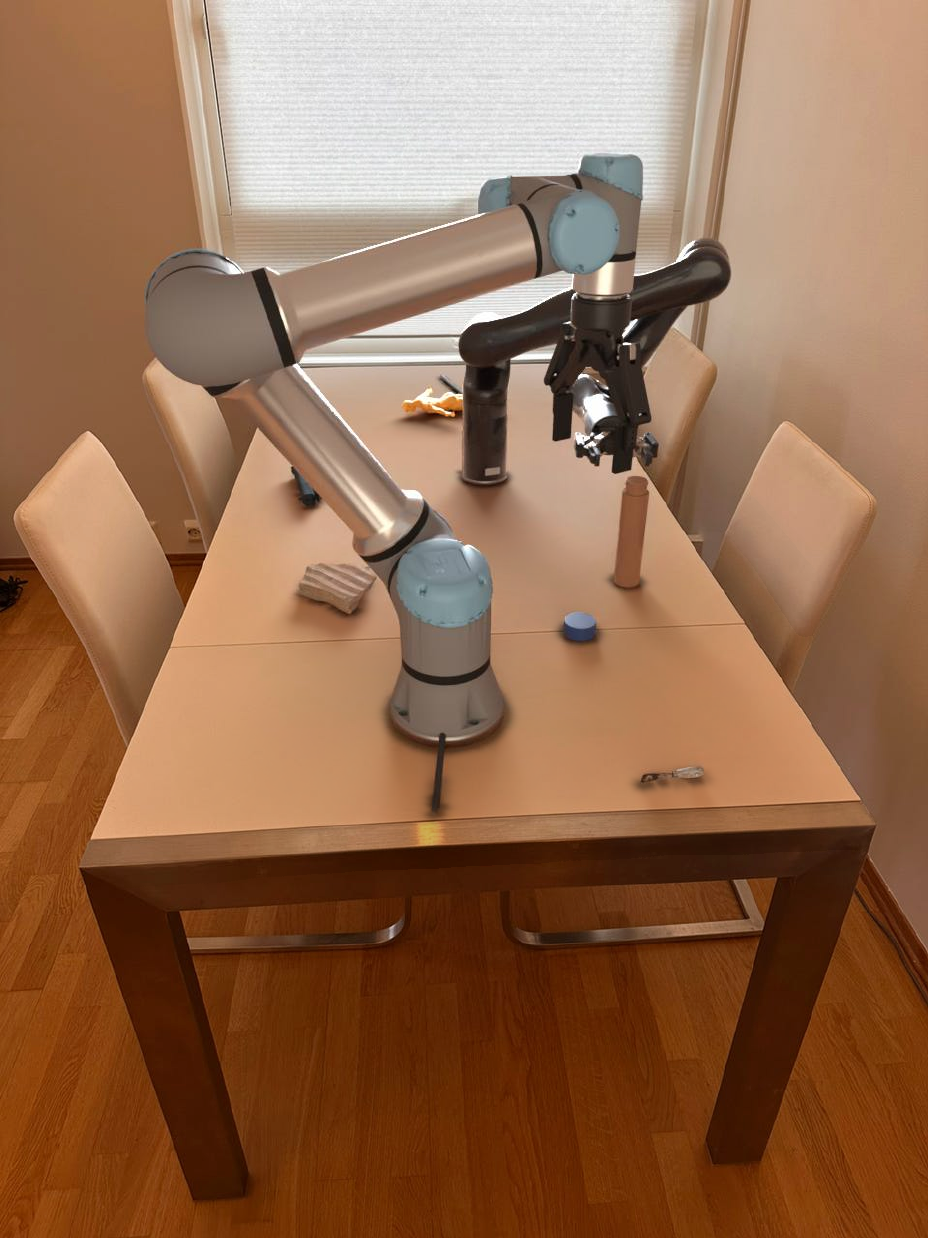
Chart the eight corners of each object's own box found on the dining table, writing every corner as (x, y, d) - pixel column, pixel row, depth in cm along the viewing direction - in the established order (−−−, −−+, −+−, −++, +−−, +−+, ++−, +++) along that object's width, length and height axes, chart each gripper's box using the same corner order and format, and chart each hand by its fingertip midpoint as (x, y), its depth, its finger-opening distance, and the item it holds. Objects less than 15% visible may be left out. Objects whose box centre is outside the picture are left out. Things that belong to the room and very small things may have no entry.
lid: (602, 633, 138) (603, 621, 136) (579, 645, 135) (580, 632, 134) (578, 620, 141) (579, 608, 140) (556, 631, 138) (557, 619, 137)
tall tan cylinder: (644, 583, 151) (656, 481, 141) (625, 590, 149) (635, 487, 139) (627, 572, 154) (638, 472, 144) (608, 579, 152) (617, 478, 142)
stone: (385, 581, 151) (385, 567, 150) (351, 615, 142) (350, 601, 141) (319, 567, 156) (318, 554, 154) (282, 600, 146) (280, 587, 145)
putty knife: (703, 777, 109) (705, 767, 109) (642, 788, 108) (644, 777, 107) (700, 772, 110) (702, 762, 109) (639, 782, 109) (640, 771, 108)
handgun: (359, 501, 179) (299, 508, 177) (345, 467, 193) (290, 474, 191) (358, 487, 178) (297, 493, 175) (344, 454, 192) (288, 460, 189)
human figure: (395, 413, 223) (394, 398, 221) (438, 390, 237) (438, 375, 235) (462, 429, 215) (462, 413, 213) (502, 404, 229) (503, 388, 227)
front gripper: (694, 309, 103) (672, 480, 115) (568, 272, 122) (560, 422, 133) (643, 317, 100) (626, 492, 111) (522, 278, 119) (517, 431, 130)
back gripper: (569, 407, 162) (583, 440, 148) (646, 407, 163) (667, 439, 149) (566, 446, 166) (579, 482, 152) (642, 446, 167) (661, 481, 153)
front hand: (590, 454), depth 122 cm, fingers open, 13 cm apart
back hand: (623, 461), depth 151 cm, fingers open, 8 cm apart
